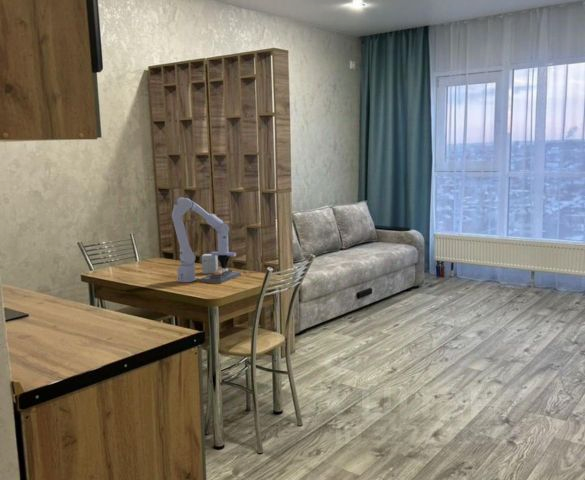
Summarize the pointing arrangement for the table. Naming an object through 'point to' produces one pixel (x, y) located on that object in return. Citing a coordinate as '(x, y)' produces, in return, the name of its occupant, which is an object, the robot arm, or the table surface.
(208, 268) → the small box
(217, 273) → the clay button
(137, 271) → the table surface
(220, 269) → the cream button
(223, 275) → the button panel
